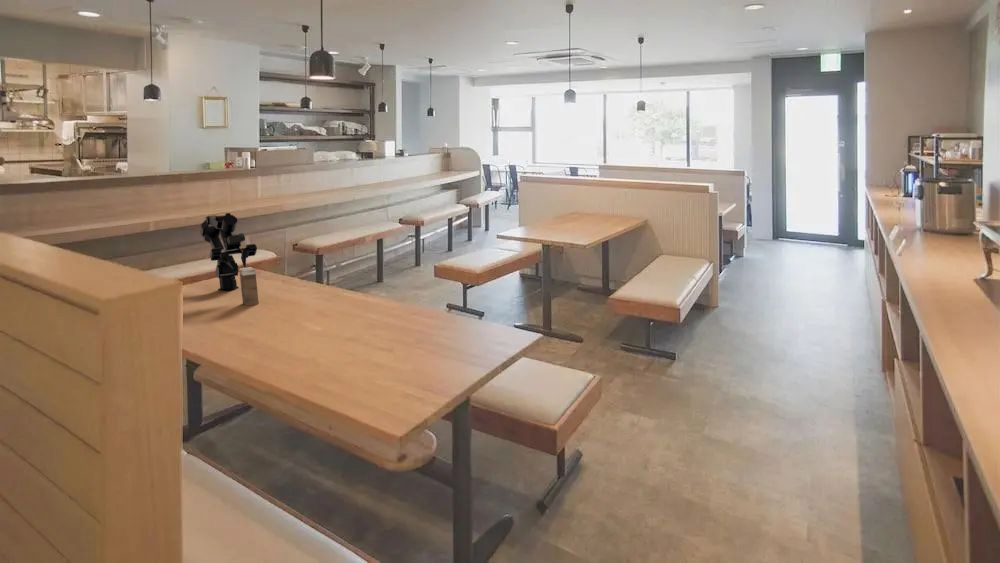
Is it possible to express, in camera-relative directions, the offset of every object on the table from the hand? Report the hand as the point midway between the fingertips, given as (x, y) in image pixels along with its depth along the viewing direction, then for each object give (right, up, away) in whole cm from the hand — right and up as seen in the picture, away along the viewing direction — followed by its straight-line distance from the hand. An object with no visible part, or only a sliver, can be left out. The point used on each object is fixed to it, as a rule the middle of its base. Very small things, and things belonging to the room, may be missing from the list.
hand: (239, 267), depth 269 cm
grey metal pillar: (+7, -15, -6) cm, 18 cm away
